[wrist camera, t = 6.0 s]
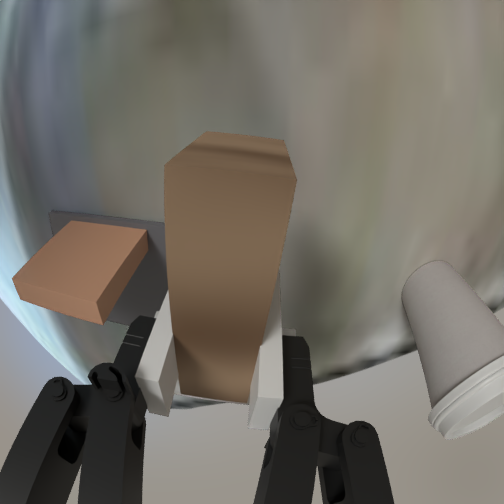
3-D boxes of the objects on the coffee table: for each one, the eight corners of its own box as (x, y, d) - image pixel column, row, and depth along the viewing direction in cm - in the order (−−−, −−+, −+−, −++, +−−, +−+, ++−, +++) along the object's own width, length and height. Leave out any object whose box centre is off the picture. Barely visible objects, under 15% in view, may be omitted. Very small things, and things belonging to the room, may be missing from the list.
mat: (52, 210, 23) (48, 213, 22) (183, 225, 23) (181, 228, 22) (78, 308, 29) (75, 312, 29) (185, 332, 30) (184, 336, 29)
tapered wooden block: (146, 128, 10) (77, 162, 6) (345, 151, 10) (395, 199, 6) (168, 381, 20) (155, 437, 16) (271, 395, 20) (270, 453, 16)
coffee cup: (381, 327, 28) (417, 454, 15) (393, 252, 23) (467, 401, 10) (453, 312, 27) (503, 419, 14) (474, 241, 22) (558, 354, 9)
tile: (71, 220, 22) (11, 278, 15) (146, 229, 22) (96, 302, 15) (75, 241, 24) (21, 302, 16) (148, 253, 24) (104, 328, 16)
